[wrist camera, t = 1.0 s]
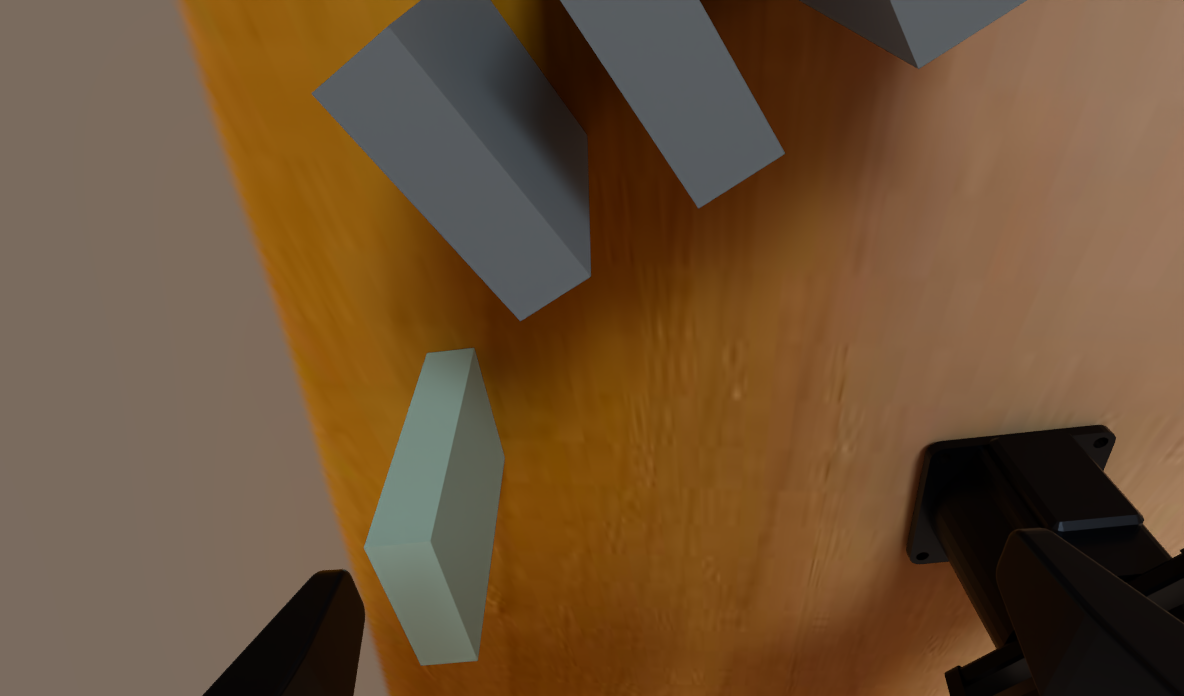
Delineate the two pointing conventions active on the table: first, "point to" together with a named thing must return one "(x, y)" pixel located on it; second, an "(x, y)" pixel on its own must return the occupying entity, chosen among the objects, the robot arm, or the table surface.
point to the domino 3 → (914, 22)
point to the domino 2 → (681, 89)
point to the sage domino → (441, 511)
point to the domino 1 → (474, 145)
